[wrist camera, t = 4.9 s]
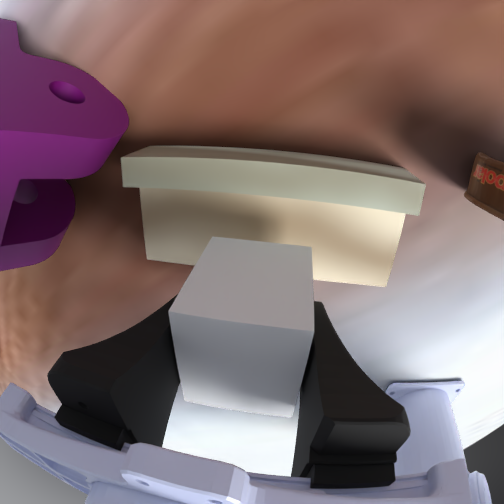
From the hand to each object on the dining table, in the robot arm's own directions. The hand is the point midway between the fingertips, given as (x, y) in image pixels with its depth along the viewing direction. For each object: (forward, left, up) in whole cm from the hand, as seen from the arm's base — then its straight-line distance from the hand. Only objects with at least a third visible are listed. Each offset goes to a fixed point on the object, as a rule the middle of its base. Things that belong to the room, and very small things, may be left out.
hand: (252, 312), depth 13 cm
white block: (0, 0, -2) cm, 2 cm away
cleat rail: (+2, 0, -6) cm, 6 cm away
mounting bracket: (+10, +17, -6) cm, 20 cm away
